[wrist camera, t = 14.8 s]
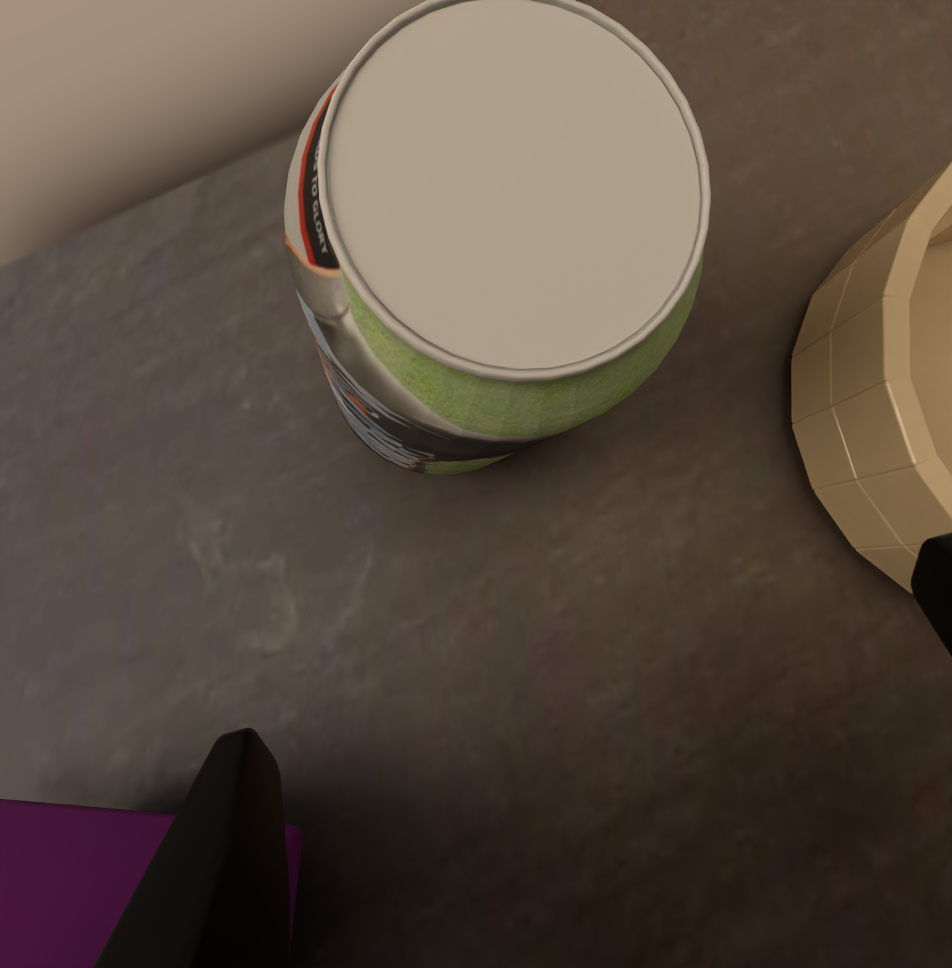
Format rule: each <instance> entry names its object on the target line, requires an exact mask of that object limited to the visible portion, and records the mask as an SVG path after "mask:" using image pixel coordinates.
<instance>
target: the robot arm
mask: <svg viewBox="0 0 952 968" xmlns="http://www.w3.org/2000/svg"><path fill="white" fill-rule="evenodd" d="M911 589H912V593H913V595H914V597H915V599H916V601H917V603H918V604H919V606H920V607H921V609H922V611H923V612H924V614H925V615H926V617H927V618H928V620H929V622H930V623H931V625H932V626H933V628H934V630H935V631H936V633H937V634H938V636H939V638H940V639H941V641H942V642H943V644H944V645H945V647H946V649H947V650H948V652H949V653H950V655H951V657H952V532H950V533H946V534H943V535H939V536H935V537H932V538H929V539H926V540H925V541H924V542H923V543H922V545H921V548H920V551H919V554H918V557H917V561H916V564H915V567H914V570H913V574H912V577H911ZM289 956H290V885H289V871H288V860H287V849H286V837H285V826H284V814H283V803H282V791H281V780H280V773H279V768H278V765H277V762H276V760H275V758H274V757H273V755H272V754H271V752H270V751H269V749H268V748H267V747H266V745H265V744H264V742H263V741H262V739H261V738H260V736H259V735H258V734H257V732H256V731H255V730H254V729H251V728H245V729H241V730H237V731H234V732H230V733H227V734H224V735H222V736H221V737H219V738H218V739H217V741H216V742H215V744H214V745H213V747H212V749H211V751H210V753H209V755H208V756H207V758H206V760H205V762H204V764H203V766H202V767H201V769H200V771H199V773H198V775H197V777H196V778H195V780H194V782H193V784H192V786H191V788H190V789H189V791H188V793H187V795H186V797H185V799H184V801H183V802H182V804H181V806H180V808H179V810H178V812H177V813H176V815H175V817H174V819H173V821H172V823H171V824H170V826H169V828H168V830H167V832H166V834H165V835H164V837H163V839H162V841H161V843H160V845H159V847H158V848H157V850H156V852H155V854H154V856H153V858H152V859H151V861H150V863H149V865H148V867H147V869H146V870H145V872H144V874H143V876H142V878H141V880H140V881H139V883H138V885H137V887H136V889H135V891H134V893H133V894H132V896H131V898H130V900H129V902H128V904H127V905H126V907H125V909H124V911H123V913H122V915H121V916H120V918H119V920H118V922H117V924H116V926H115V927H114V929H113V931H112V933H111V935H110V937H109V938H108V940H107V942H106V944H105V946H104V948H103V950H102V951H101V953H100V955H99V957H98V959H97V961H96V962H95V964H94V966H93V968H289Z"/></svg>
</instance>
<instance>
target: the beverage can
mask: <svg viewBox="0 0 952 968" xmlns="http://www.w3.org/2000/svg"><path fill="white" fill-rule="evenodd" d="M710 203H711V191H710V178H709V165H708V161H707V157H706V153H705V149H704V144H703V140H702V136H701V132H700V130H699V127H698V125H697V123H696V120H695V118H694V116H693V113H692V111H691V109H690V106H689V104H688V101H687V100H686V98H685V96H684V95H683V93H682V92H681V90H680V89H679V87H678V85H677V84H676V82H675V81H674V79H673V77H672V76H671V74H670V73H669V71H668V70H667V69H666V68H665V67H664V66H663V64H662V63H661V62H660V61H659V60H658V59H657V58H656V56H655V55H654V54H653V53H652V52H651V51H650V49H649V48H648V47H647V46H646V45H645V44H643V43H642V42H641V41H640V40H639V39H637V38H636V37H635V36H634V35H633V34H631V33H630V32H629V31H628V30H627V29H625V28H624V27H623V26H622V25H621V24H619V23H617V22H616V21H614V20H612V19H611V18H609V17H607V16H606V15H604V14H602V13H601V12H599V11H597V10H596V9H594V8H592V7H590V6H588V5H585V4H583V3H580V2H578V1H575V0H427V1H425V2H423V3H421V4H419V5H417V6H416V7H414V8H412V9H410V10H408V11H406V12H405V13H403V14H401V15H399V16H398V17H396V18H395V19H394V20H392V21H391V22H390V23H389V24H387V25H386V26H385V27H384V28H383V29H381V30H380V31H379V32H378V33H376V34H375V35H374V36H373V37H372V38H371V39H370V40H369V41H368V42H367V43H366V45H365V46H364V47H363V48H362V49H361V51H360V52H359V53H358V55H357V56H356V57H355V58H354V59H353V61H352V62H351V63H350V64H349V66H348V67H347V68H346V69H345V70H344V71H343V72H342V73H341V75H340V76H339V77H338V78H337V80H336V81H335V82H334V83H333V84H332V86H331V87H330V88H329V89H328V90H327V92H326V93H325V94H324V95H323V96H322V98H321V99H320V100H319V102H318V104H317V106H316V107H315V109H314V111H313V113H312V115H311V117H310V118H309V120H308V122H307V124H306V126H305V127H304V129H303V131H302V133H301V135H300V138H299V141H298V145H297V148H296V151H295V154H294V157H293V160H292V163H291V166H290V169H289V174H288V182H287V190H286V198H285V206H284V220H285V238H286V251H287V256H288V260H289V264H290V268H291V272H292V276H293V281H294V285H295V289H296V291H297V294H298V297H299V300H300V302H301V305H302V308H303V311H304V314H305V316H306V319H307V322H308V325H309V327H310V330H311V333H312V336H313V338H314V341H315V344H316V347H317V350H318V352H319V355H320V358H321V361H322V363H323V366H324V369H325V372H326V375H327V377H328V380H329V383H330V386H331V388H332V391H333V394H334V397H335V399H336V401H337V404H338V406H339V408H340V411H341V413H342V415H343V417H344V418H345V420H346V421H347V423H348V424H349V426H350V427H351V429H352V430H353V432H354V433H355V434H356V435H357V436H358V437H359V438H360V439H361V440H362V441H363V442H364V444H365V445H366V446H367V447H369V448H370V449H371V450H373V451H374V452H375V453H377V454H378V455H379V456H381V457H382V458H384V459H386V460H388V461H390V462H392V463H394V464H396V465H398V466H400V467H402V468H405V469H409V470H412V471H415V472H419V473H425V474H433V475H451V474H461V473H465V472H469V471H474V470H477V469H480V468H482V467H484V466H487V465H489V464H491V463H494V462H496V461H498V460H500V459H503V458H505V457H507V456H510V455H512V454H514V453H516V452H519V451H521V450H523V449H525V448H528V447H530V446H532V445H535V444H537V443H539V442H541V441H544V440H546V439H548V438H550V437H553V436H555V435H557V434H560V433H562V432H564V431H566V430H569V429H571V428H573V427H576V426H578V425H580V424H582V423H585V422H587V421H589V420H591V419H594V418H596V417H598V416H600V415H602V414H603V413H605V412H606V411H608V410H609V409H611V408H612V407H614V406H615V405H617V404H618V403H620V402H621V401H623V400H624V399H626V398H627V397H629V396H630V395H631V394H632V393H633V392H634V391H635V390H636V389H637V388H638V387H639V386H640V385H641V384H642V383H643V382H644V381H645V380H646V379H647V378H648V377H649V376H650V375H651V374H653V373H654V372H655V370H656V369H657V368H658V366H659V365H660V363H661V362H662V361H663V359H664V358H665V356H666V355H667V354H668V352H669V351H670V349H671V348H672V347H673V345H674V344H675V342H676V341H677V339H678V337H679V335H680V332H681V330H682V328H683V326H684V324H685V322H686V320H687V318H688V315H689V313H690V311H691V309H692V306H693V303H694V299H695V295H696V291H697V288H698V284H699V280H700V277H701V272H702V263H703V252H704V243H705V240H706V236H707V232H708V225H709V214H710Z"/></svg>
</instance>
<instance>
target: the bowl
mask: <svg viewBox="0 0 952 968" xmlns="http://www.w3.org/2000/svg"><path fill="white" fill-rule="evenodd" d="M792 357H793V358H792V360H791V421H792V423H793V424H792V428H793V431H794V435H795V438H796V441H797V444H798V447H799V450H800V453H801V456H802V459H803V462H804V465H805V468H806V471H807V474H808V478H809V481H810V484H811V487H812V489H813V490H814V493H815V494H816V496H817V497H818V498H819V500H820V501H821V503H822V504H823V505H824V507H825V508H826V510H827V511H828V513H829V514H830V515H831V517H832V518H833V520H834V521H835V522H836V524H837V525H838V527H839V528H840V530H841V531H842V532H843V534H844V535H845V537H846V538H847V539H848V541H849V542H850V544H851V545H852V547H854V548H856V549H855V550H856V551H857V552H858V553H860V554H861V555H862V556H863V557H865V558H866V559H867V560H869V561H870V562H871V563H872V564H874V565H875V566H876V567H877V568H879V569H880V570H881V571H883V572H884V573H885V574H886V575H888V576H889V577H890V578H892V579H893V580H894V581H895V582H897V583H898V584H899V585H901V586H902V587H903V588H904V589H906V590H907V591H908V592H910V593H911V594H913V593H912V589H911V577H912V574H913V570H914V567H915V564H916V561H917V557H918V554H919V551H920V548H921V545H922V543H923V542H924V541H925V540H926V539H929V538H932V537H935V536H939V535H943V534H946V533H950V532H952V161H951V162H950V163H948V164H947V165H946V166H945V167H944V168H943V169H941V170H940V171H939V172H938V173H937V174H936V175H934V176H933V177H932V178H931V179H930V180H929V181H927V182H926V183H925V184H924V185H923V186H922V187H920V188H919V189H918V190H917V191H916V192H915V193H913V194H912V195H911V196H910V197H909V198H907V199H906V200H905V201H904V202H903V203H902V204H901V205H899V206H898V207H897V208H896V209H894V210H893V211H892V212H891V213H890V214H889V215H887V216H886V217H885V218H884V219H883V220H882V221H880V222H879V223H878V224H877V225H876V226H875V227H873V228H872V229H871V230H870V231H869V232H868V233H866V234H865V235H864V236H863V237H862V238H861V239H859V240H858V241H857V242H856V243H855V244H854V245H852V246H851V247H850V248H849V249H848V251H847V252H846V253H845V254H844V256H843V257H842V258H841V260H840V261H839V262H838V263H837V265H836V266H835V267H834V268H833V270H832V271H831V272H830V273H829V275H828V276H827V277H826V279H825V280H824V281H823V282H822V284H821V285H820V286H819V287H818V289H817V290H816V291H815V293H814V294H813V296H812V298H811V300H810V303H809V306H808V309H807V312H806V315H805V318H804V321H803V324H802V327H801V330H800V333H799V336H798V338H797V341H796V344H795V347H794V350H793V353H792Z"/></svg>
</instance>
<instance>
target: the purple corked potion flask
mask: <svg viewBox="0 0 952 968" xmlns="http://www.w3.org/2000/svg"><path fill="white" fill-rule="evenodd" d="M175 815H176V814H168V813H157V812H145V811H134V810H122V809H111V808H99V807H88V806H76V805H65V804H53V803H42V802H30V801H19V800H7V799H0V968H93V966H94V964H95V962H96V961H97V959H98V957H99V955H100V953H101V951H102V950H103V948H104V946H105V944H106V942H107V940H108V938H109V937H110V935H111V933H112V931H113V929H114V927H115V926H116V924H117V922H118V920H119V918H120V916H121V915H122V913H123V911H124V909H125V907H126V905H127V904H128V902H129V900H130V898H131V896H132V894H133V893H134V891H135V889H136V887H137V885H138V883H139V881H140V880H141V878H142V876H143V874H144V872H145V870H146V869H147V867H148V865H149V863H150V861H151V859H152V858H153V856H154V854H155V852H156V850H157V848H158V847H159V845H160V843H161V841H162V839H163V837H164V835H165V834H166V832H167V830H168V828H169V826H170V824H171V823H172V821H173V819H174V817H175ZM284 826H285V837H286V849H287V860H288V871H289V885H290V948H291V939H292V930H293V921H294V912H295V903H296V894H297V884H298V875H299V866H300V857H301V848H302V839H303V837H302V834H301V830H300V828H298V827H296V826H294V825H293V824H284ZM289 957H290V956H289Z"/></svg>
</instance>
